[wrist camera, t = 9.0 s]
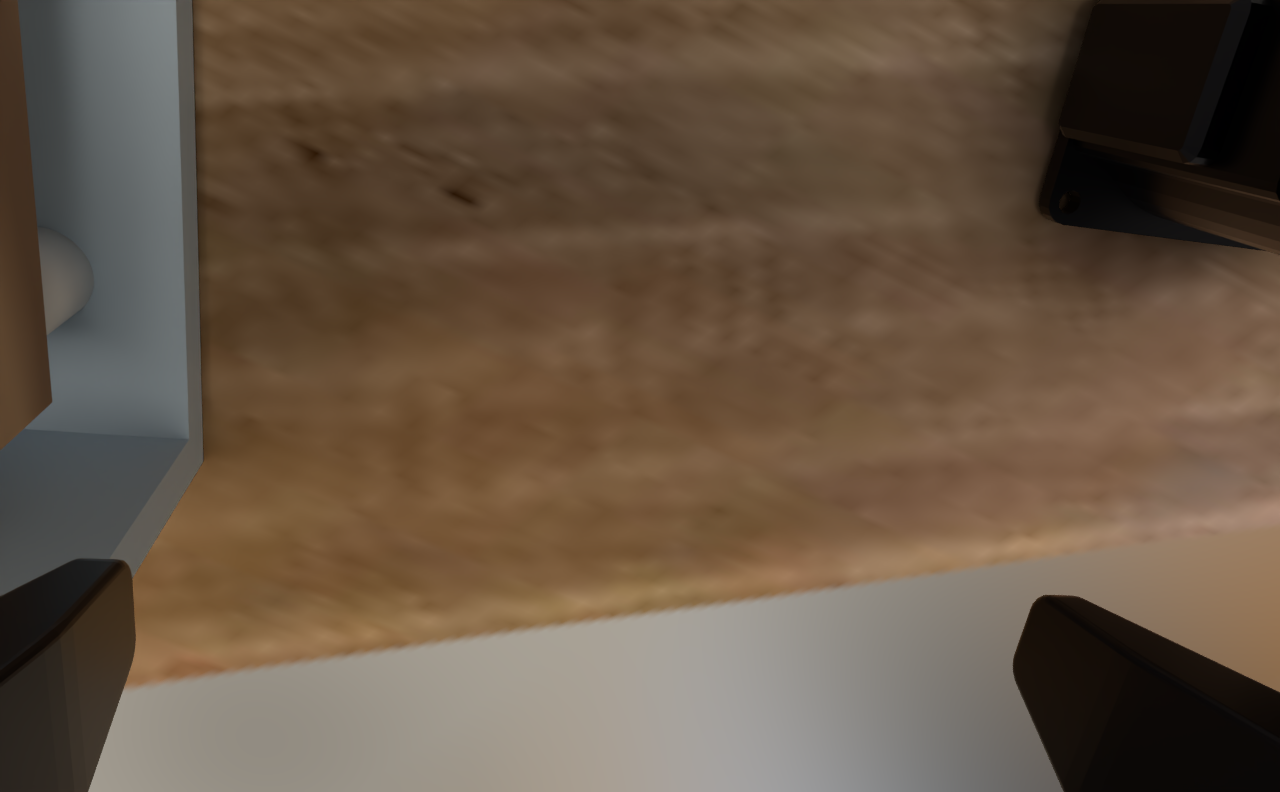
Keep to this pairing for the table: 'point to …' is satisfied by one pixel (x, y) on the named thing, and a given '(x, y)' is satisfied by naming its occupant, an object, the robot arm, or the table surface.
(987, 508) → the table surface
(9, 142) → the shelf block
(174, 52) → the peg rack
